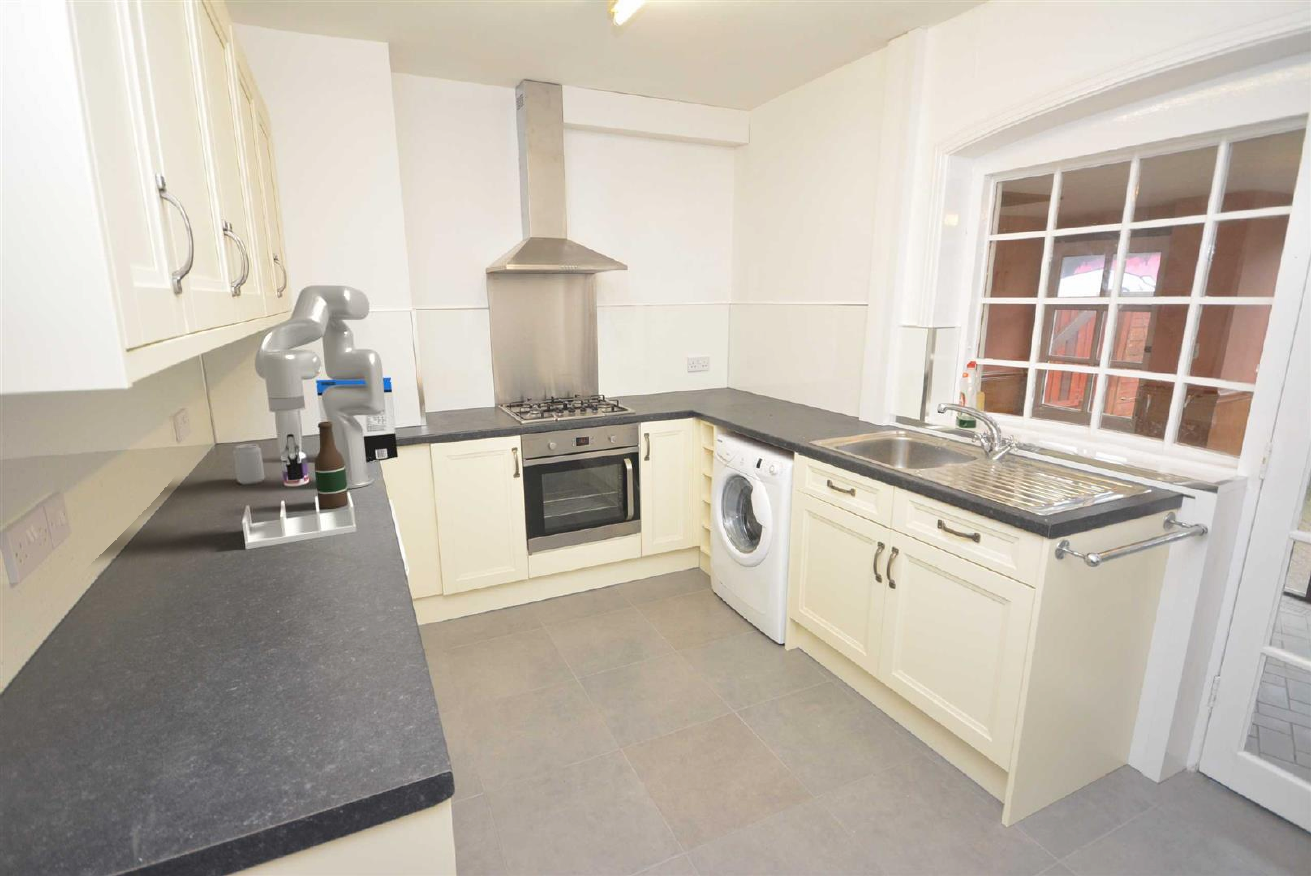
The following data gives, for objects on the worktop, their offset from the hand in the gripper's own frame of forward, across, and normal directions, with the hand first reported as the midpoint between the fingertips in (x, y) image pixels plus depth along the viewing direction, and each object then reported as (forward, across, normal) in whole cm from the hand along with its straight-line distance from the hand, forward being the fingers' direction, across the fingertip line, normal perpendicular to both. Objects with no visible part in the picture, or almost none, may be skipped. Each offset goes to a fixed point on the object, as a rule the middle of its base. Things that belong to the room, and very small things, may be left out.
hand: (295, 475), depth 153 cm
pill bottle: (+2, 0, 0) cm, 2 cm away
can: (+14, -59, -14) cm, 62 cm away
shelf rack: (+14, 0, 0) cm, 14 cm away
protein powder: (+14, -73, +20) cm, 77 cm away
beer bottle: (+15, -19, +8) cm, 25 cm away
